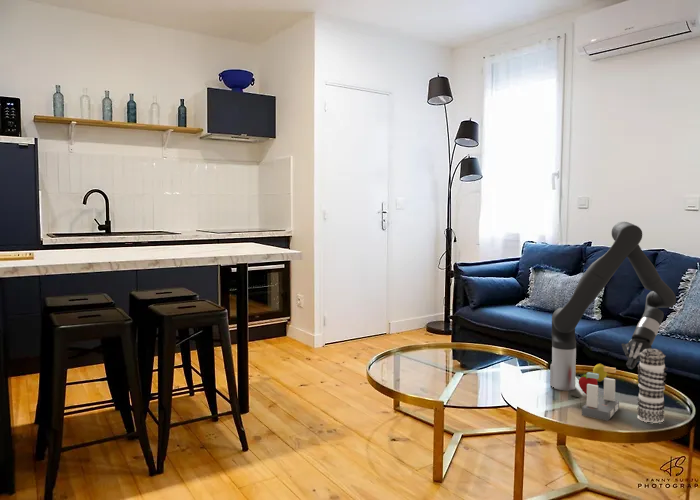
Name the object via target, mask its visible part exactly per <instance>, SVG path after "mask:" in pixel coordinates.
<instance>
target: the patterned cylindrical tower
mask: <svg viewBox="0 0 700 500" xmlns="http://www.w3.org/2000/svg"><path fill="white" fill-rule="evenodd" d="M665 357H666V354H664V353H663V351H662V350H661V349H657V348H651V349H644V350H643V351H642V352H641V353H640V361H639V363H638V364H636V365H637V366H636V367H637V373H638V374H637V382H638V383H637V385H638V387H639V392H638V397H637V412H636V414H637V416H636V417H637V419H638V420H640V421H641V422H643V421H644V423H647V422H653V423H658V422H663V421H664V422H665V419H664V418H665V415H664V414H665V410H664V409H665V398H664V391H665V390H666V387H665V386H666V382H664V381H666V380H667V377H666V376H667V373H666V372H665V371H666V370H668V368H667V367H666V364H665ZM664 422H663V423H664ZM653 423H652V424H653Z"/></svg>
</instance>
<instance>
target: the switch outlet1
mask: <svg viewBox="0 0 700 500" xmlns="http://www.w3.org/2000/svg"><path fill="white" fill-rule="evenodd" d="M586 375H587V377H588V378H594V379H598V378H599V374H597V373H593V372H590V371H588V372H586ZM598 397H599V385H598V384H597V385H593V384H587V395H586V403H587V406H589V407H594V408H598Z"/></svg>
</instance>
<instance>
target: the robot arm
mask: <svg viewBox="0 0 700 500" xmlns="http://www.w3.org/2000/svg"><path fill="white" fill-rule="evenodd" d="M611 237H612V239H613V240H614V241H613V243H612V245H611V246H610V248H608V250H607V252H605V253H604V254H603V255H602V256H600V257H599V258H597V259H596V260H594V261H593V262H592V263H591V264H589V266H588V267H587V269H586V270H585V272H584V273H583V274H582V276H581V278H580V279H579V281H578V283H577V285H576V287H575V289H574V291H573V292H572V293H573V294H572V296H571V298H570V299H569V301H567V302H566V304H565V305H564V306H563V307H559V308H557V309H555V310H554V312H553V313H552V316H551V346H552V347H551V360H552V361H551V363H550V366H549V367H550V368H549V369H550V370H549V371H550V372H549V374H550V375H549V386H552V387H551V388H553V387H554V388H553V389H555V390H558V391H573V390H575V389H576V376H577V375H576V373H577V372H576V365H577V364H576V363H577V362H576V361H577V360H576V359H577V340H576V328H577V326H578V324H579V323H580V320H581V319H582V317H583V315H584V314H585V312H586V311H587V309H588V308H589V306H590V305H591V304H592V303H594V301H595V300H596V298H597V297H598V296H599V294H600V293H601V292H603V290H604V288H605V287H606V285H607V284H608V282H609V281H610V280H611V278H612V277H613V276H614V274H615V273H616V271H617V270H618V269H619V268H620V266H621V265H622V263H623V262H624V261H625V260H626V259H627V260H629V262H630V264H631V266H632V268H633V269H634V271H635V273H636V275H637V277H638V278H639V281H640V282H641V284H642V286H643V287H644V289H646V290H647V291H650V292H649V293H648V294H647V295H646V297H645V306H644V312H643V314H642V316H641V318H640V320H639V321H638V323H637V325H636V327H635V328H634V332H633V334H632V335H631V339H630V340H629V341H628V343H621V345H620V346H621V347H622V351H623V353H624V355H625V357H626V358H627V361H626V363H625V365H626V367H627V368H628V369H629V370H633V369H635V367H637V366H636V365H637V363H638V362H640V353H641V352H642V351H643V350H644V349H653V348H652V345H653V344H654V341H655V339H656V338H657V337H656V336H657V335H658V333H659V330H660V326H661V324H662V321H663V320H664V312H663V310H661V309H660V308H662V309H663V308H665V309H666V308H672V307H673V306H675V305H676V302H677V299H676V294H675V293H674V291H673V290H672V288H670V286H669V285H668V284H666V282H665V281H664V280H663V279H662V278H661V276H660V274H659V272H658V271H657V269H656V267H655V265H654V264H653V263H652V261H651V260H650V259H649V258H648V257H647V255H646V254H645V252H644V250H643V249H642V247H641V246H640V243H641V241H642V239H643V231H642V229H641V228H640V227H639V225H635V224H634V223H630V222H628V221H619V222H617V223H615V224H614V225H613V227H612V229H611ZM629 350H630V351H629Z"/></svg>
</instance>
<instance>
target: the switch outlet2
mask: <svg viewBox="0 0 700 500" xmlns="http://www.w3.org/2000/svg"><path fill="white" fill-rule="evenodd" d="M604 366H605V367H604V371H605V372H607V373H612V374H615V373H616V372H617V368H616V367H610V366H606V365H604ZM603 398H604V400H610V401H615V400H616V379H614V378H609V377H606V378H604V380H603Z"/></svg>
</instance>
